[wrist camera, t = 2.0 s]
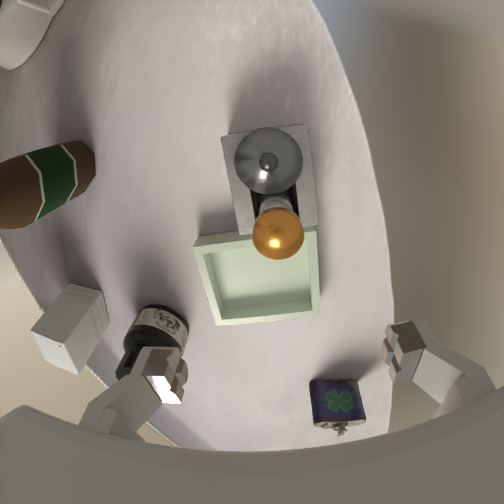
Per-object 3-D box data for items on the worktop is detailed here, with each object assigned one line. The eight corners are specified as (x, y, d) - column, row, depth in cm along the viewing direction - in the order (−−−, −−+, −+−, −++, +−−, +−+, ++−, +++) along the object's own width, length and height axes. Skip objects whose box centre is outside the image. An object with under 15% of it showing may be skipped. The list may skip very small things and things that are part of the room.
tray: (198, 236, 34) (192, 247, 31) (312, 221, 32) (316, 231, 29) (219, 311, 39) (216, 325, 36) (317, 301, 37) (320, 315, 35)
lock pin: (255, 179, 30) (248, 215, 19) (288, 175, 30) (301, 208, 19) (260, 211, 32) (256, 262, 21) (292, 206, 31) (306, 256, 21)
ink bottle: (202, 327, 41) (185, 390, 30) (174, 352, 44) (156, 408, 34) (150, 291, 38) (117, 349, 28) (127, 321, 42) (98, 374, 31)
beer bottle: (86, 127, 27) (-78, 180, 6) (106, 179, 31) (-44, 277, 9) (50, 155, 29) (-87, 220, 8) (69, 201, 32) (-57, 295, 11)
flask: (359, 378, 46) (370, 428, 36) (353, 387, 47) (363, 435, 37) (310, 377, 46) (316, 431, 36) (306, 387, 47) (310, 438, 37)
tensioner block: (227, 132, 28) (215, 136, 21) (300, 122, 27) (311, 122, 20) (243, 218, 32) (237, 245, 26) (310, 209, 31) (322, 234, 25)
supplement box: (69, 281, 39) (28, 328, 28) (103, 290, 39) (64, 344, 28) (78, 314, 42) (45, 361, 31) (111, 324, 42) (79, 377, 31)
